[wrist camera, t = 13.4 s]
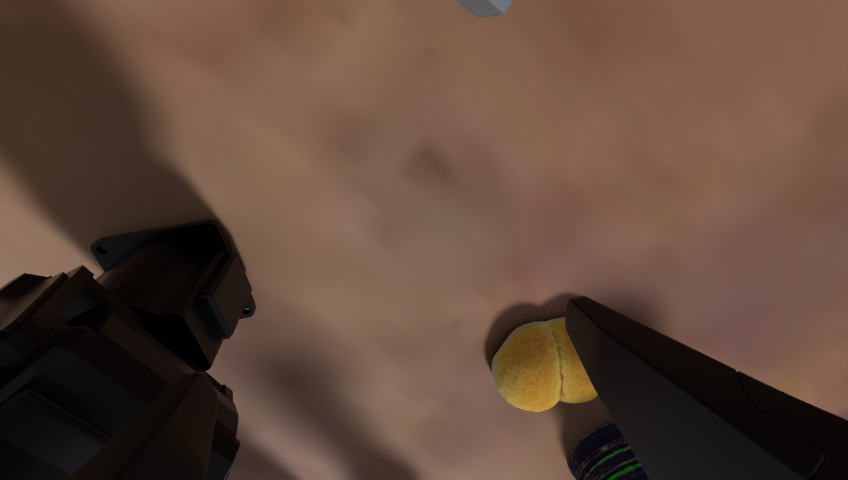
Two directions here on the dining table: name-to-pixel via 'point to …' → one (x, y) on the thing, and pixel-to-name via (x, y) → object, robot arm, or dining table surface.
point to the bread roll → (540, 367)
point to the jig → (486, 7)
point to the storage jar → (605, 456)
